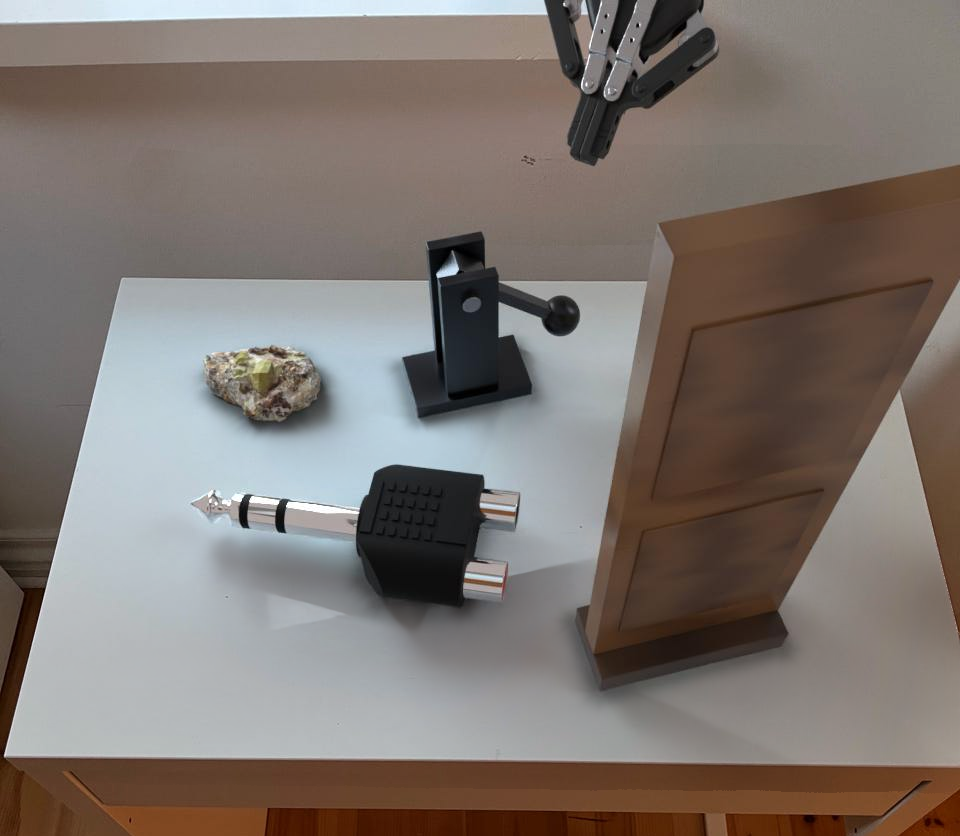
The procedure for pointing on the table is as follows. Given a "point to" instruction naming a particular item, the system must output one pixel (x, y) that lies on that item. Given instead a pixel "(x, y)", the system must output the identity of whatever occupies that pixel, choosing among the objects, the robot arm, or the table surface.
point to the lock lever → (522, 298)
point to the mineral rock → (263, 380)
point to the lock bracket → (464, 338)
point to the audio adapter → (397, 530)
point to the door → (757, 409)
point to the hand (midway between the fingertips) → (581, 160)
